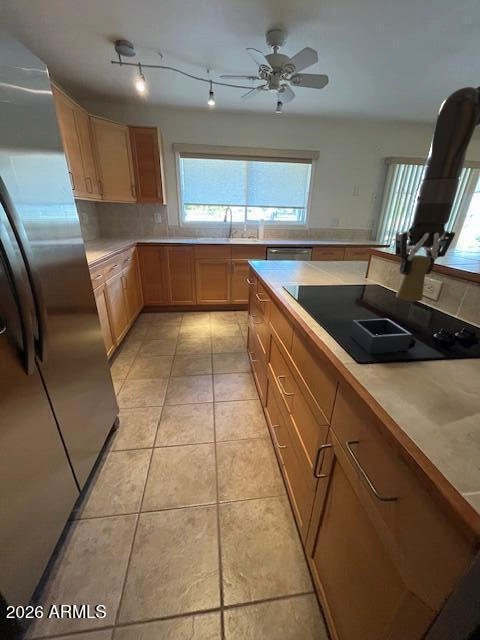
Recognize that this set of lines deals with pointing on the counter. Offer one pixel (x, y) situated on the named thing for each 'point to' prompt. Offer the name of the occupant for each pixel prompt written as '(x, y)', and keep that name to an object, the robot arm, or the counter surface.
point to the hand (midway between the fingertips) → (414, 273)
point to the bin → (380, 336)
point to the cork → (414, 280)
